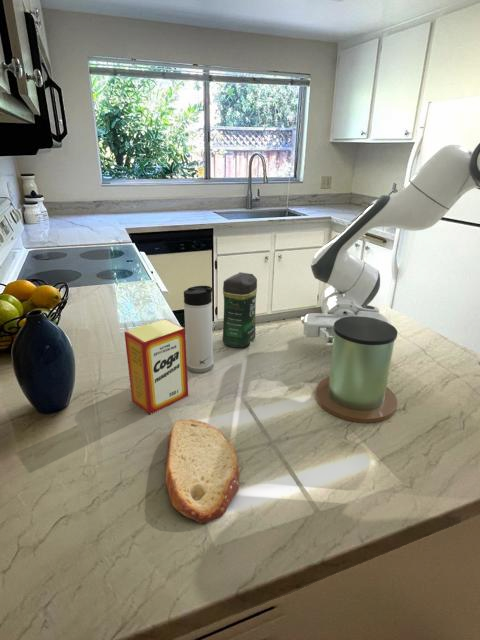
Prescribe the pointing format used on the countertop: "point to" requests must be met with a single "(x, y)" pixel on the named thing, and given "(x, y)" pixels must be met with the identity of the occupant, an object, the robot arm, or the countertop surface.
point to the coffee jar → (239, 309)
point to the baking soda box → (157, 364)
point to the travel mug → (198, 328)
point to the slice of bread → (200, 470)
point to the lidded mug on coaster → (359, 371)
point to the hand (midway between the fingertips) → (351, 341)
